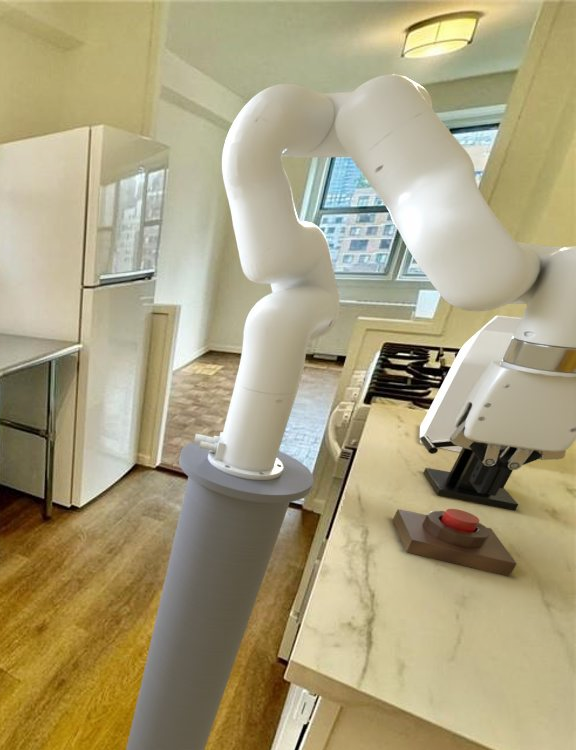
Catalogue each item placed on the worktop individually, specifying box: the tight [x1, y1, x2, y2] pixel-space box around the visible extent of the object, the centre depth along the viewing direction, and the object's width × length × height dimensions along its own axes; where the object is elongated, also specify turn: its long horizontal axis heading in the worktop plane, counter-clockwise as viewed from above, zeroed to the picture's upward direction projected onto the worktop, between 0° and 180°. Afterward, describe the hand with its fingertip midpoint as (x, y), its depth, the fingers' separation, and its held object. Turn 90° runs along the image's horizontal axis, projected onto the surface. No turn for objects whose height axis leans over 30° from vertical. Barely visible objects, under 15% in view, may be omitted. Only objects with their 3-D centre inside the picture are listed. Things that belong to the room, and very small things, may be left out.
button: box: [440, 508, 480, 533], centre depth 68 cm, size 4×4×2 cm
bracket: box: [422, 445, 520, 511], centre depth 82 cm, size 10×9×12 cm
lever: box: [419, 436, 457, 455], centre depth 82 cm, size 10×6×2 cm, turn 62°
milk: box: [419, 315, 522, 453], centre depth 96 cm, size 12×12×26 cm
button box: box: [392, 508, 518, 577], centre depth 69 cm, size 11×9×4 cm
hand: (482, 489), depth 66 cm, fingers closed
